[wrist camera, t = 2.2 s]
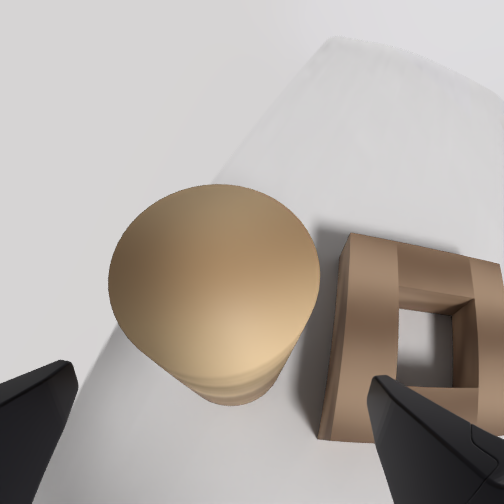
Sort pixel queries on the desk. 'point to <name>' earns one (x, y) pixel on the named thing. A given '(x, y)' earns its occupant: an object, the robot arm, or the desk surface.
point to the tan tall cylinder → (216, 288)
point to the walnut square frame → (387, 322)
